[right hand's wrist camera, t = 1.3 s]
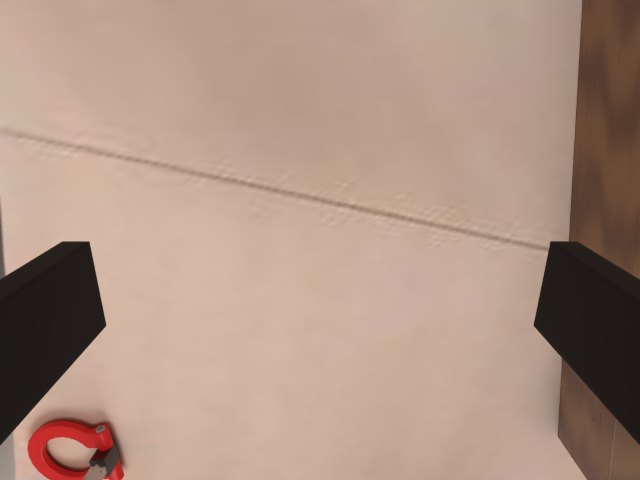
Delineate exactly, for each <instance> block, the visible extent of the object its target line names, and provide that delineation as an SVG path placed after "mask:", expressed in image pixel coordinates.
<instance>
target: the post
mask: <svg viewBox="0 0 640 480" xmlns="http://www.w3.org/2000/svg"><path fill="white" fill-rule="evenodd" d="M569 242H579V243H581V244H582V245H584V246H586V247H587V248H589V249H591V250H592V251H594V252H596V253H597V254H599V255H600V256H602V257H604V258H605V259H607V260H609V261H610V262H612V263H614V264H615V265H617V266H618V267H620V268H622V269H623V270H625V271H627V272H628V273H630V274H632V275H633V276H635V277H636V278H638V279H640V0H583V8H582V26H581V43H580V61H579V79H578V96H577V114H576V131H575V149H574V166H573V184H572V201H571V219H570V236H569ZM558 437H559V439H560V440H561V442H562V443H563V445H564V446H565V448H566V449H567V451H568V452H569V454H570V455H571V457H572V458H573V460H574V461H575V463H576V464H577V465H578V467H579V468H580V470H581V471H582V473H583V474H584V476H585V477H586V479H587V480H640V445H639V444H638V443H637V442H636V441H635V440H634V438H633V437H632V436H631V435H630V434H629V433H628V432H627V431H626V429H625V428H624V427H623V426H622V425H621V424H620V423H619V421H618V420H617V419H616V418H615V417H614V416H613V415H612V414H611V412H610V411H609V410H608V409H607V408H606V407H605V406H604V405H603V403H602V402H601V401H600V400H599V399H598V398H597V397H596V395H595V394H594V393H593V392H592V391H591V390H590V389H589V388H588V386H587V385H586V384H585V383H584V382H583V381H582V380H581V379H580V377H579V376H578V375H577V374H576V373H575V372H574V371H573V370H572V368H571V367H570V366H569V365H568V364H567V363H566V362H565V360H564V359H562V377H561V394H560V412H559V429H558Z"/></svg>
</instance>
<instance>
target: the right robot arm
mask: <svg viewBox="0 0 640 480" xmlns="http://www.w3.org/2000/svg"><path fill="white" fill-rule="evenodd" d="M105 327H106V321H105V317H104V312H103V307H102V302H101V297H100V292H99V287H98V282H97V277H96V272H95V267H94V262H93V257H92V252H91V247H90V242H61V243H59V244H58V245H56V246H54V247H53V248H51V249H49V250H48V251H46V252H44V253H43V254H41V255H40V256H38V257H36V258H35V259H33V260H31V261H30V262H28V263H26V264H25V265H23V266H22V267H20V268H18V269H17V270H15V271H13V272H12V273H10V274H8V275H7V276H5V277H4V278H2V279H0V445H1V444H2V443H3V442H4V441H5V440H6V438H7V437H8V436H9V435H10V434H11V433H12V432H13V431H14V429H15V428H16V427H17V426H18V425H19V424H20V423H21V421H22V420H23V419H24V418H25V417H26V416H27V415H28V414H29V412H30V411H31V410H32V409H33V408H34V407H35V406H36V405H37V403H38V402H39V401H40V400H41V399H42V398H43V397H44V395H45V394H46V393H47V392H48V391H49V390H50V389H51V388H52V386H53V385H54V384H55V383H56V382H57V381H58V380H59V379H60V377H61V376H62V375H63V374H64V373H65V372H66V371H67V370H68V368H69V367H70V366H71V365H72V364H73V363H74V362H75V360H76V359H77V358H78V357H79V356H80V355H81V354H82V353H83V351H84V350H85V349H86V348H87V347H88V346H89V345H90V344H91V342H92V341H93V340H94V339H95V338H96V337H97V336H98V335H99V333H100V332H101V331H102V330H103V329H104V328H105ZM534 327H535V328H536V329H537V330H538V331H539V332H540V333H541V335H542V336H543V337H544V338H545V339H546V340H547V341H548V342H549V344H550V345H551V346H552V347H553V348H554V349H555V350H556V351H557V353H558V354H559V355H560V356H561V357H562V358H563V359H564V360H565V362H566V363H567V364H568V365H569V366H570V367H571V368H572V370H573V371H574V372H575V373H576V374H577V375H578V376H579V377H580V379H581V380H582V381H583V382H584V383H585V384H586V385H587V386H588V388H589V389H590V390H591V391H592V392H593V393H594V394H595V395H596V397H597V398H598V399H599V400H600V401H601V402H602V403H603V405H604V406H605V407H606V408H607V409H608V410H609V411H610V412H611V414H612V415H613V416H614V417H615V418H616V419H617V420H618V421H619V423H620V424H621V425H622V426H623V427H624V428H625V429H626V431H627V432H628V433H629V434H630V435H631V436H632V437H633V438H634V440H635V441H636V442H637V443H638V444H639V445H640V279H638V278H636V277H635V276H633V275H632V274H630V273H628V272H627V271H625V270H623V269H622V268H620V267H618V266H617V265H615V264H614V263H612V262H610V261H609V260H607V259H605V258H604V257H602V256H600V255H599V254H597V253H596V252H594V251H592V250H591V249H589V248H587V247H586V246H584V245H582V244H581V243H579V242H550V247H549V252H548V257H547V262H546V267H545V272H544V277H543V282H542V287H541V292H540V297H539V302H538V307H537V312H536V317H535V321H534Z"/></svg>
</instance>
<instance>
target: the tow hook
mask: <svg viewBox="0 0 640 480" xmlns="http://www.w3.org/2000/svg"><path fill="white" fill-rule="evenodd" d="M56 437H66V438H71V439H74V440H77V441H78V442H80V443H82V444H83V445H85V446H86V447H88V448H98V449H97V451H96V452H95V454H94V455H93V457H92V458H91V460H90V461H89V463H90V465H91V467H90V469H89V470H87V471H84V472H73V471H69V470H66V469H63V468H61V467H59V466H58V465H56V464H55V463H54V462H53V461H52V460H51V459H50V458H49V456H48V454H47V452H46V443H47V441H49V440H50V439H53V438H56ZM28 454H29V457H30V459H31V462H32V464H33V465H34V466H35V467H36V469H37V470H38V471H39V472H40V473H41V474H43V475H44V476H45V477H46V478H48V479H50V480H103V479H110V480H121V479H122V478H123V476H124V473H123V470H122V467H121V464H120V461H119V454H118V451H117V448H116V445H115V442H114V441H113V440H112V437H111V434H110V431H109V428H108V425H107V424H102V425H99V426H97V427H96V428H93V429H89V428H87V427H85V426H83V425H80V424H77V423H74V422H67V421H55V422H50V423H47V424H45V425H43V426H42V427H40V428H39V429H37V431H36V432H35V433H34V434H33V435H32V437H31V438H30V440H29V443H28Z"/></svg>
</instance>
